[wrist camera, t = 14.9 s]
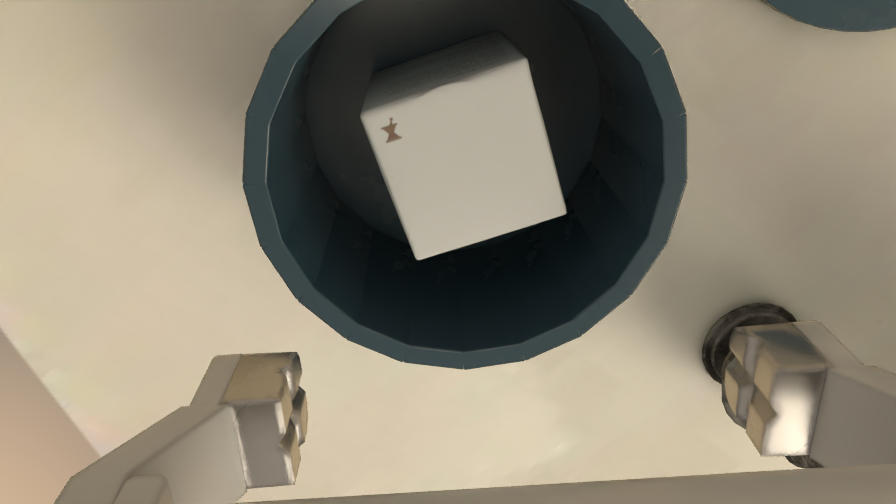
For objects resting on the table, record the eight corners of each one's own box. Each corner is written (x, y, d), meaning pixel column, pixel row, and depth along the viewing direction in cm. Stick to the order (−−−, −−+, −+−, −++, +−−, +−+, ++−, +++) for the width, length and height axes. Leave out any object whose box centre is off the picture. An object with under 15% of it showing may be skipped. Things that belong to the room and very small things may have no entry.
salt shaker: (674, 351, 38) (777, 523, 27) (762, 277, 36) (909, 428, 25) (741, 410, 40) (864, 593, 29) (828, 342, 38) (993, 509, 27)
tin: (375, -133, 28) (355, -160, 19) (678, 41, 31) (778, 84, 22) (243, 182, 33) (181, 272, 24) (515, 303, 36) (544, 421, 28)
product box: (413, 197, 33) (412, 265, 26) (367, 71, 31) (353, 111, 24) (539, 157, 33) (571, 216, 26) (504, 26, 30) (528, 54, 23)
